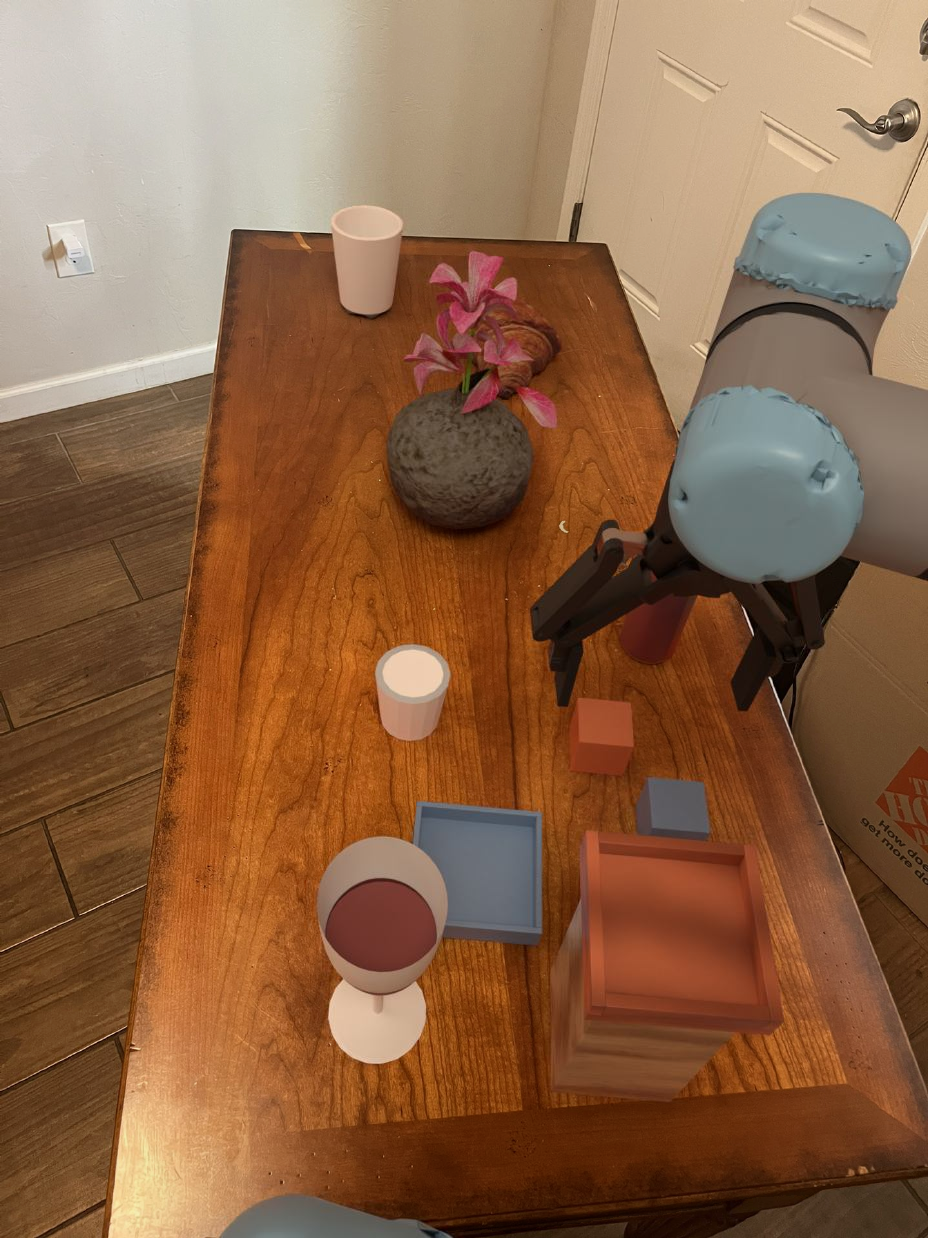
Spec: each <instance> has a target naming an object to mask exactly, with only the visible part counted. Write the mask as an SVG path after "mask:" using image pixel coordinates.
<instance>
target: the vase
mask: <svg viewBox="0 0 928 1238" xmlns="http://www.w3.org/2000/svg"><path fill="white" fill-rule="evenodd" d="M503 261H504V258H503V256H498V255H492V256H489V255H487V254H485V253H483V252H480V251H475V250H472V251H470V252H469V255H468V281H463V282H462V280H461V277H460V276H459V274H458V273H457V272H456V270H455V269H454V268H453V267H452V266H451V265H449V264H447V263H446V262H441V263H439V264H438V265H437V266H436V267H435V269H434V271H433V273H432V274H431V277H430V279H429V281H428V283H429V284H433V285H436V286H440V287H443V288H447V289H449V290H451V292H449V291H443V292H441V291H440V292H439V293H438V294H437V295H436V299H435V302H436V307H441V306H442V305H444V304H446V303H451V304H450V305H449V307H448V308H446V309H442V310H441V311H440V312H439V314H438V315H437V316H436V321H435V322H436V324H435V325H436V326H435V327H436V331H437V333H438V337H439V339H440V340H441V342H442V344H443V345H444V346H445V348H446V349H444V348H443V347H442V346H441V345H440V344H439V343H438V342H437V341H436V340H435V339H433V338H432V337H431V336H430V335H429V334H426V333H422V334H421V335H420V337H419V339H418V340H417V341H416V343H415V347H414V349H413V353H410V354H405V357H403V359H402V360H403V362H405V363H407V362H408V363H413V362H418V361H421V362H418V363H417V364H416V365H415V366H414V368H413V376H414V380H415V385H416V388H417V390H418V392H419V395H420V396H418V397H417V398H415V399H414V400H412V401H411V402H409V403H407V404H406V405H405V406H403V407H402V408H400V410H399V411H398V412H397V413H396V414H395V417H394V420H393V422H392V424H391V426H390V428H389V431H388V435H387V439H386V459H387V467H388V472H389V477H390V483H391V487H392V488H393V490H394V491H395V493H396V495H397V497H398V498H399V499H400V500H401V502H402V503H403V504H404V505H405V506H406V508H407V509H408V510H409V511H410V513H412V514H414V515H415V516H417V517H418V518H420V519H421V520H423V521H425V522H427V523H429V524H430V525H431V526H437V527H443V528H448V529H454V530H461V529H472V528H473V529H474V528H481V527H484V526H487V525H490V524H493V523H496V522H499V521H502V520H503V519H504V518H505V517H506V516H508V515H509V514H510V513H511V512H513V510H515V509H516V508H517V507H518V506H519V505H520V504H521V503H522V502H523V501H524V498H525V495H526V493H527V490H528V486H529V482H530V477H531V473H532V469H533V465H534V461H535V457H534V448H533V445H532V442H531V439H530V436H529V433H528V430H527V428H526V426H525V423H524V422H523V421H522V420H521V418H519V417H518V416H517V415H516V414H515V413H514V412H513V411H512V410H511V409H510V407H508V406H507V404H505V403H504V402H503V401H502V400H499V399H497V398H496V397H498V395H497V394H498V392H499V387H500V381H499V372H498V366H501V365H503V366H508V365H511V364H512V363H513V362H518V361H524V360H532V361H534V360H533V359H532V358H530V357H529V356H527V355H525V354H524V353H523V352H522V350H521V347H520V346H519V344H518V342H517V341H516V339H515V338H514V337H512V338H511V339H510V340H509V342H508V343H507V345H506V347H505V348H504V347H503V346H504V335H503V333H502V330H501V328H500V327H499V325H498V323H497V321H496V320H495V319H494V318H493V317H491V316H489V315H488V314H489V313H490V312H491V311H501V312H504V313H506V314H508V315H510V316H511V317H513V318H514V319H515V320H516V321H518V322H519V323H520V320H519V317H518V315H517V313H516V311H515V309H514V308H513V306H512V304H511V302H510V300H513V301H515V300H516V299H517V293H518V280H517V279H516V278H515V277H509V278H505V279H504V280H502V281H501V282H500V283H498V284H497V285H496V286H495V288H491V287H492V285H493V282H494V280H495V278H496V276H497V273H498V272H499V269H500V267H501V266H502V263H503ZM484 317H485V319H486V320H487V321H488V323H489V324H490V326H491V327H492V329H493V331H494V333H495V335H496V339H497V343H498V344H496V343H495V341H494V339H493V338H492V336H491V335H490V334H489V333H488V332H486V331H485V330H479V331H478V332H477V334H476V336H475V339H477V340H479V341H482V342H484V343H485V346H484V360H485V361H486V362H491V363H495V364H494V365H493V366H492V368H491V369H484V370H481V371H479V370H478V371H476V372H474V373H472V374H471V372H472V363H473V360H472V358H473V356H472V354H473V352H481V351H482V349H481V348H480V347H479V346H478V344H477V343H476V341H475V340H474V335H475V328H476V326H477V325H478V324H479V323H480V322H481V320H482V319H483V318H484ZM450 321H452V322H453V324H454V326H455V328H456V330H457V333H455V334H454V336H453V337H452V339H451V340H450V338H449V325H450ZM468 327H470V329H471V331H470V335H469V334H468V333H465V331H466V329H467V328H468ZM462 360H467V361H466V362H467V363H466V370H465V368H464V365H463V363H462ZM465 371H466V372H465ZM437 372H439V373H440V372H441V373H449V374H452V375H456V376H462V380H461V381H460V382H459V384H458V385H457V387H453V388H445V389H440V390H436V391H432V392H428V393H425V394H422V392H423V388H424V386H425V383H426V381H428V379H429V378H430V376H431V375H434V374H435V373H437ZM516 390H517V394H518V395H519V397H520V399H521V400H522V402H523V403H524V405H525V407H526V408H527V409H528V411H529V412H530V414H531V415H532V417H533V418H534V419H535V421H536V422H537V423H538V424H539V425H540V426H541V427H544V428H550V429H556V428H557V427H558V417H557V410H556V409H557V408H556V406H555V404H554V402H553V401H552V400H550V399H549V398H548V397H547V396H546V395H544V394H543V393H541V392H540V391H538V390H536V389H533V388H530V387H519V386H517V387H516Z"/></svg>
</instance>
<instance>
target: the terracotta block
mask: <svg viewBox="0 0 928 1238" xmlns="http://www.w3.org/2000/svg"><path fill="white" fill-rule="evenodd" d="M576 699H577V700H576V703H575V706H574V709H573V713H572V716H571V720H570V723H569V727H568V738H569V739H568V742H569V743H568V744H569V747H568V748H569V771H570V772H575V773H584V774H585V773H587V774H598V775H607V776H609V775H610V776H619V777H623V776H624V773H625V770H626V768H627V766H628V764H629V761H630V759H631V756H632V753H633V751H634V748H635V740H634V739H635V738H634V728H633V726H634V725H633V713H632V703H631V702H630V701H619V700H611V699H609V700H608V699H598V698H587V697H577V698H576Z"/></svg>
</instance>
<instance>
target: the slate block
mask: <svg viewBox="0 0 928 1238" xmlns="http://www.w3.org/2000/svg"><path fill="white" fill-rule="evenodd" d="M708 811H709V810H708V803H707V797H706V789H705V782H704V781H696V780H686V779H685V780H683V779H673V778H663V777H652V776H647V779H646V780H645V783H644V786H643V788H642V789H641V792H640V795H639V797H638V799H637V801H636V803H635V817H636V831H637V835H645V836H656V837H667V838H678V839H689V840H700V841H708V838H709V837H710V836H711V827H710V826H711V825H710V817H709V812H708Z"/></svg>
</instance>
